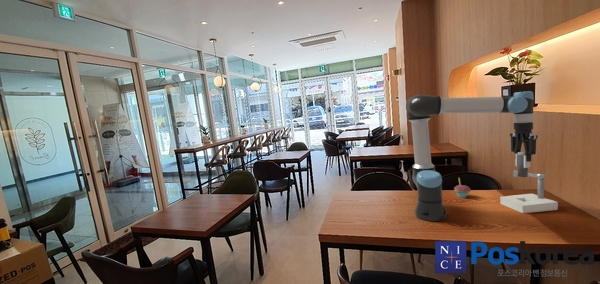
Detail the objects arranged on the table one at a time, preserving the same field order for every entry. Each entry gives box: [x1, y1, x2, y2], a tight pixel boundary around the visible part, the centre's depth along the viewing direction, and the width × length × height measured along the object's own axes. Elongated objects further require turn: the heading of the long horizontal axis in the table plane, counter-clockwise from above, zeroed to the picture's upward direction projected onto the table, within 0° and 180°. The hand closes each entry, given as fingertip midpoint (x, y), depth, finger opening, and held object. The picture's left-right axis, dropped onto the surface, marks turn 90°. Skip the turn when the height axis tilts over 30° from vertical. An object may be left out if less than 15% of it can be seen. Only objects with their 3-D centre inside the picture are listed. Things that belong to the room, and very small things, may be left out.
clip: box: [512, 169, 546, 180], centre depth 140 cm, size 15×3×4 cm, turn 15°
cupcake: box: [453, 177, 471, 199], centre depth 158 cm, size 9×8×12 cm
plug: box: [517, 151, 529, 178], centre depth 133 cm, size 4×4×12 cm
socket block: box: [499, 178, 559, 214], centre depth 135 cm, size 18×14×15 cm
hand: (522, 166), depth 133 cm, fingers closed on plug, 4 cm apart
